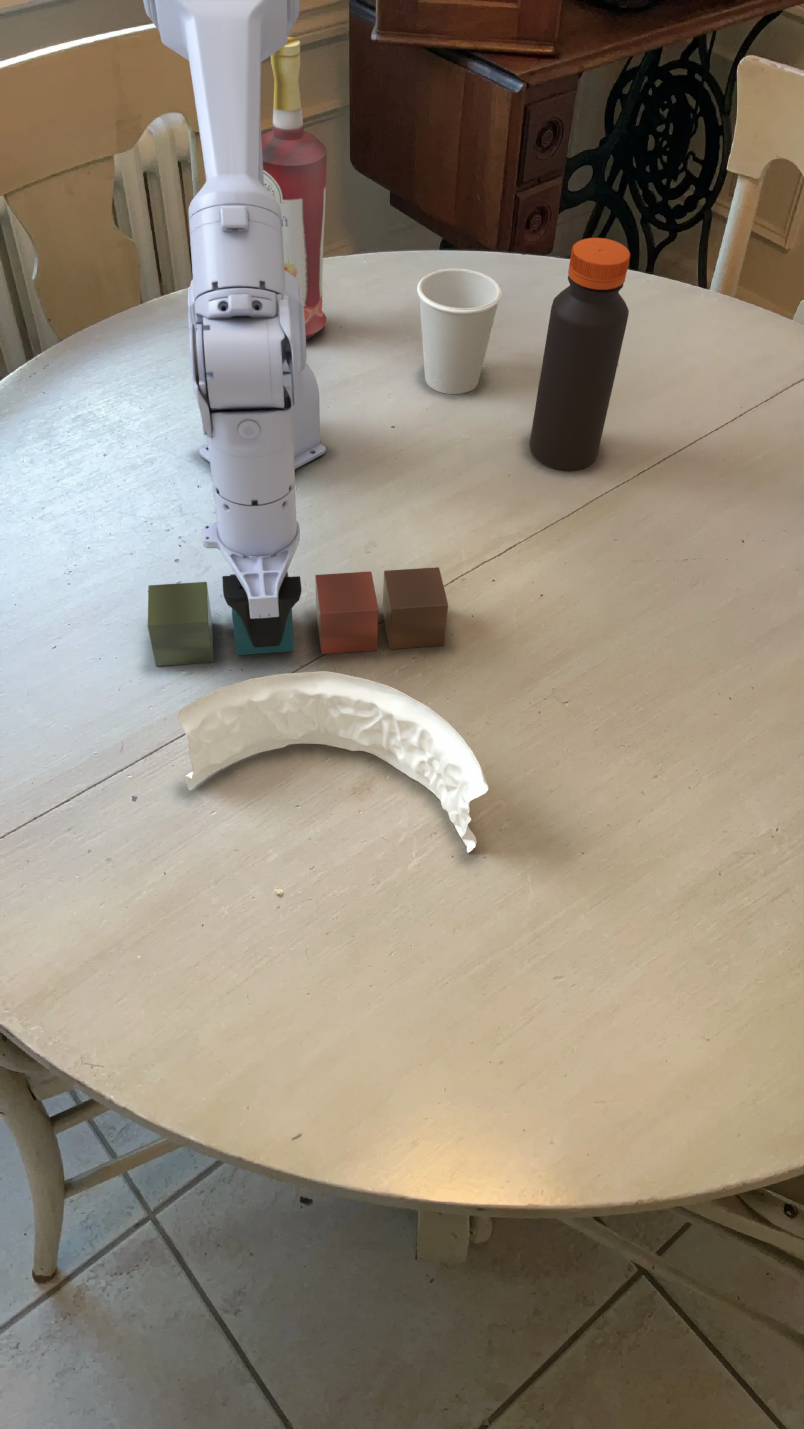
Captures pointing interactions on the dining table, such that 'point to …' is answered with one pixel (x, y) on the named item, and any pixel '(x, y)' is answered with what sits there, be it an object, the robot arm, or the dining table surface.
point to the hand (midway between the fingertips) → (264, 620)
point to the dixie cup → (456, 326)
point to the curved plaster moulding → (335, 731)
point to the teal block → (247, 647)
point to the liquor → (297, 184)
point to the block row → (340, 612)
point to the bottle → (581, 356)
